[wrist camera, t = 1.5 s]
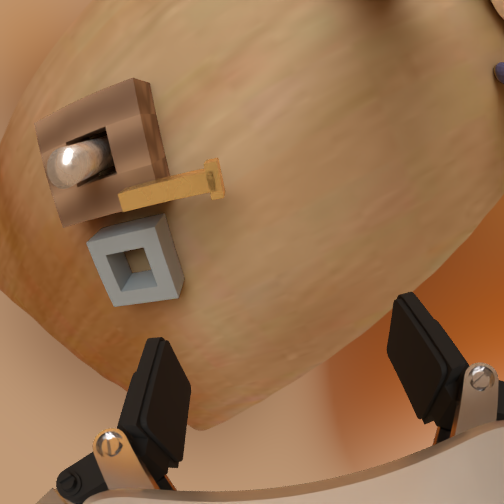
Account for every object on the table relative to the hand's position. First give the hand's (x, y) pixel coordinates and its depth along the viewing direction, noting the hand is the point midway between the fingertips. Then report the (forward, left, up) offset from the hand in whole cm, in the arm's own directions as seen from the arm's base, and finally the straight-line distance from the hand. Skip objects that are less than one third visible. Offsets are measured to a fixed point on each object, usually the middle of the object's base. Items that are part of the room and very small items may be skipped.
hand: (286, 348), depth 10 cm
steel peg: (-8, -17, -28) cm, 34 cm away
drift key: (-3, -8, -22) cm, 24 cm away
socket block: (-8, -17, -28) cm, 34 cm away
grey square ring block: (+7, -17, -28) cm, 34 cm away
